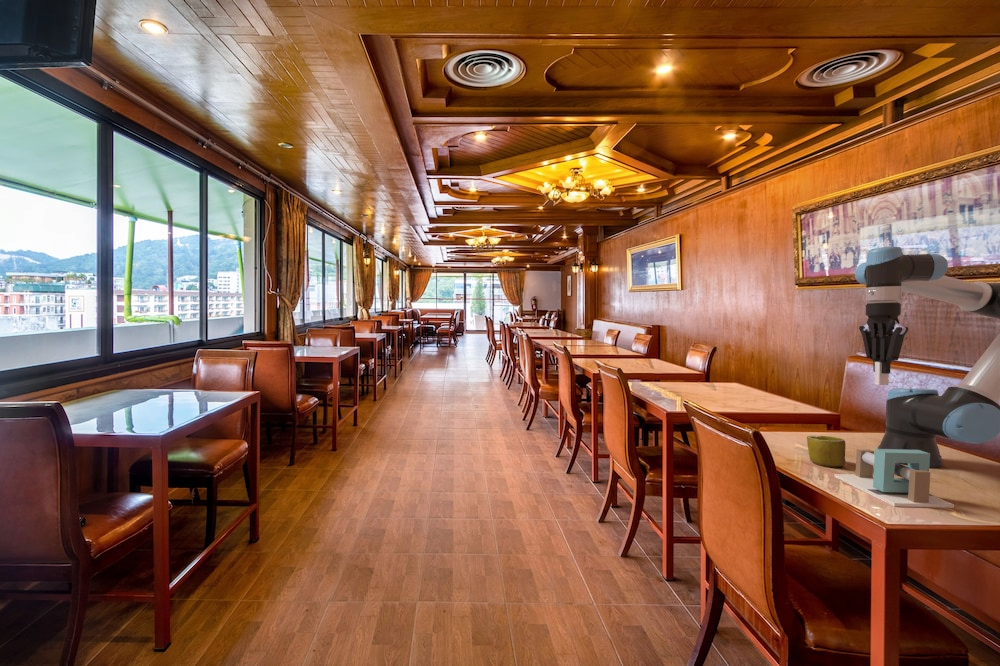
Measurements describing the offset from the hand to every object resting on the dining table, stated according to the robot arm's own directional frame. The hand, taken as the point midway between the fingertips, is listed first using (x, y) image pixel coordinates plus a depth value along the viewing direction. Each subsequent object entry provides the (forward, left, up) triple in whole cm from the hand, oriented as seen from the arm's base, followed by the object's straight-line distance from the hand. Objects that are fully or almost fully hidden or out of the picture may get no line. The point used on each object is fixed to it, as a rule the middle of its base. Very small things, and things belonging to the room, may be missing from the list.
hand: (881, 384), depth 123 cm
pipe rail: (+7, +12, -26) cm, 30 cm away
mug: (+8, -10, -26) cm, 29 cm away
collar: (+7, +16, -25) cm, 30 cm away
